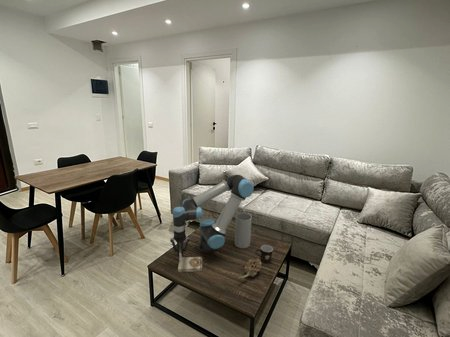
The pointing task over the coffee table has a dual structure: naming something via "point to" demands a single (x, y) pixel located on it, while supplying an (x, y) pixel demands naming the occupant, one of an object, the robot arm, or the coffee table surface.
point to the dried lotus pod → (252, 268)
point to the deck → (190, 264)
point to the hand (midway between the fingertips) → (180, 259)
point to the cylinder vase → (243, 230)
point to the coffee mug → (265, 253)
